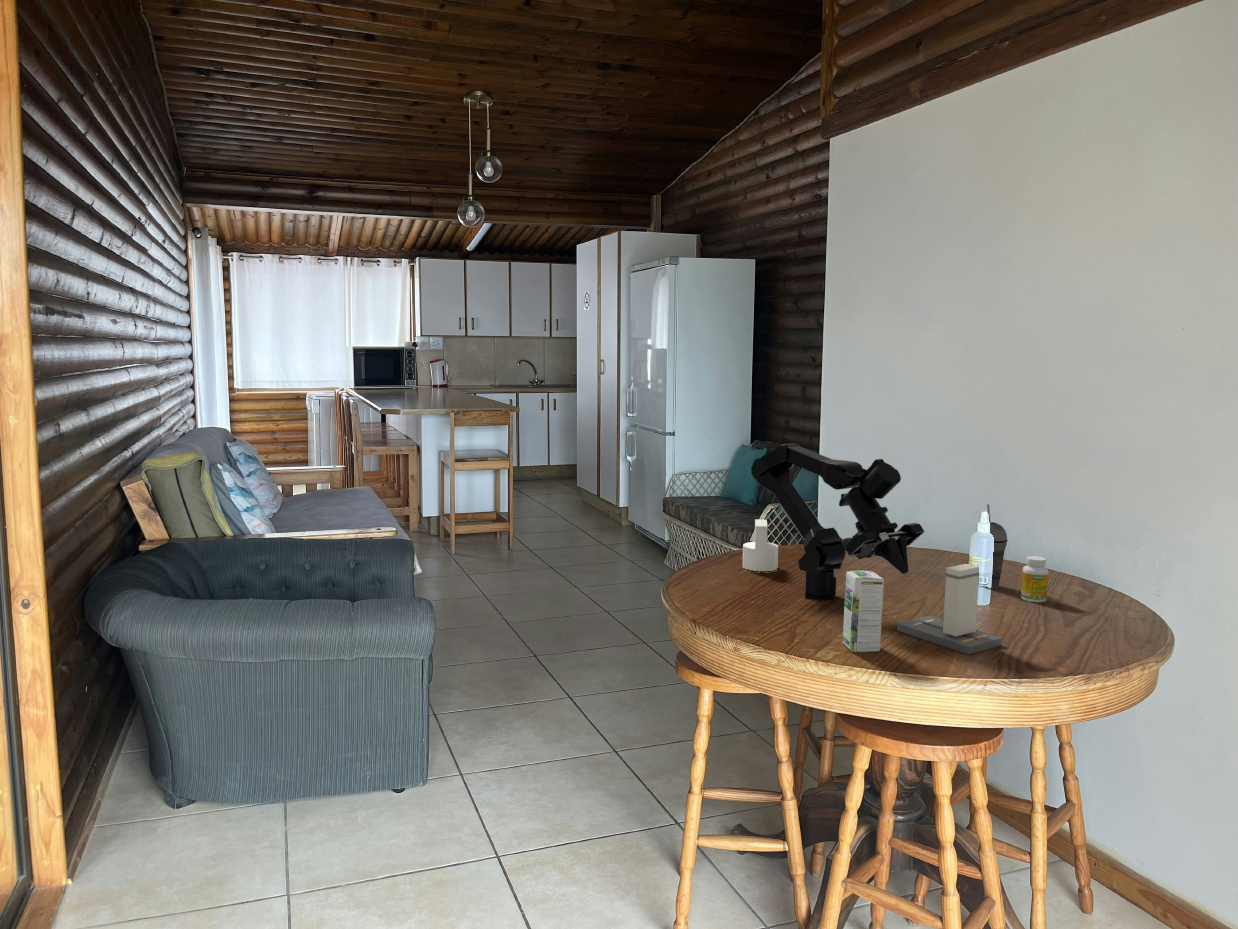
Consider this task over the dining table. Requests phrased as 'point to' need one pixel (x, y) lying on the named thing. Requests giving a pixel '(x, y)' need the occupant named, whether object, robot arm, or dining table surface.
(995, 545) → the beverage cup
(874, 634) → the syrup box
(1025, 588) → the supplement bottle
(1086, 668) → the dining table surface
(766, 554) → the base with upright slab
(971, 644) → the fader console
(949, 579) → the fader knob
